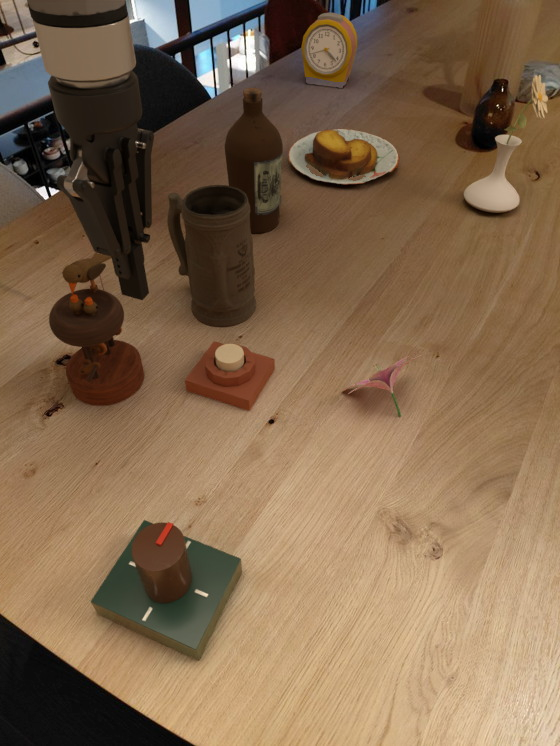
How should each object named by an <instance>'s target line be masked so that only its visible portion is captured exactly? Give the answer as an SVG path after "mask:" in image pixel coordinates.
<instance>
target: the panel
mask: <svg viewBox="0 0 560 746" xmlns="http://www.w3.org/2000/svg"><path fill="white" fill-rule="evenodd" d="M151 524H154V523H153V522H151V521H148V520H145V519H144V520H143V521H142V522H141V524H140V525H139V526H138V528H137V530H136V531H135V532H134V535H133V536H132V537H131V539H130V540H129V542H128V543H127V545H126V546H125V547H124V549H123V551H122V553H121V554H120V556H119V557H118V558H117V560H116V562H115V563H114V565H113V566H112V568H111V569H110V570H109V572H108V574H107V576H106V577H105V579H103V581H102V583H101V585H100V586H99V588H98V589H97V591H96V592H95V594H94V596H93V597H92V599H91V600H90V604H91V605H92V607H93V609H94V611H95V613H96V614H97V615H99V616H101V617H103V618H106V619H108V620H110V621H112V622H114V623H116V624H118V625H121V626H123V627H125V628H127V629H129V630H131V631H134V632H136V633H137V634H140V635H142V636H145V637H146V638H148V639H151V640H153V641H155V642H158V643H159V644H162V645H164V646H165V647H168V648H170V649H172V650H174V651H176V652H179V653H181V654H183V655H185V656H187V657H190V658H192V659H194V660H196V661H198V662H199V661H200V659H201V657H202V656H203V653H204V652H205V649H206V647H207V646H208V644H209V642H210V639H211V638H212V636H213V633H214V632H215V629H216V627H217V626H218V625H217V624H218V623H219V621H220V618H221V616H222V614H223V612H224V610H225V608H226V606H227V604H228V602H229V600H230V599H231V598H230V597H231V596H232V593H233V592H234V590H235V587H236V585H237V584H238V581H239V579H240V577H241V575H242V573H243V565H242V558H240V557H237V556H235V555H233V554H230V553H229V552H225V551H222V550H220V549H217V548H216V547H214V546H211V545H209V544H205V543H204V542H200V541H198V540H196V539H193V538H190V537H188V536H186V535H183V536H184V539H185V544H186V548H187V553H188V557H189V562H190V566H191V571H192V582H191V585H190V587H189V589H188V591H187V592H186V593H185V594H184V595H183V596H182V597H181V598H179V599H178V600H176V601H173V602H170V603H159V602H156V601H154V600H152V599H151V598H149V597H148V595H147V594H146V592H145V590H144V587H143V585H142V582H141V579H140V576H139V574H138V571H137V568H136V565H135V563H134V560H133V557H132V553H131V548H132V543H133V541H134V539H135V537H136V536H137V534H138V533H139V532H140V531H141V530H142V529H144V528H145V527H147V526H149V525H151Z"/></svg>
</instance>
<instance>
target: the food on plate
mask: <svg viewBox="0 0 560 746" xmlns="http://www.w3.org/2000/svg"><path fill="white" fill-rule="evenodd" d="M287 157H288V162H289V163H290V165H292V167H293V168H295V170H297V171H298V172H300V173H301V174H302V175H305V176H307V177H309V178H310V179H311V180H315V181H319V182H320V181H321V182H324V183H331V184H337V185H340V184H341V185H345V186H346V185H358V184H365V183H366V182H369V181H371V180H375V179H377V178H379V177H382V176H384V175H385V174H387V173H392V172H393V171H394V170H395V169H396V168H399V167H400V166H399V163H400V155H399V151H397V148H396V147H395V145H393V144H392V143H391V142H389V141H388V140H386V139H385V138H382V137H380V136H378V135H375V134H372V133H368V132H366V131H359V130H355V129H346V128H338V129H325V130H320V131H319V130H318V131H316V132H312V133H309V134H308V135H306V136H304V137H300V138H299V139H298V140H297V141H295V142H294V143H293V144H292V145H291V147H290V148H289V150H288V152H287ZM307 164H309V165H311V166H312V167H314V168H315V169H317V170H318V171H319V172H321V173H322V174H323V177H320V176H316V175H315V174H312V173H311V172H310V170H309V168H307V167H306V165H307ZM359 175H365V176H366V177H363V178H362V179H360V180H356V181H353V180H349V178H350V177H352V176H353V177H356V176H359Z"/></svg>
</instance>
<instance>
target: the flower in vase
mask: <svg viewBox="0 0 560 746" xmlns="http://www.w3.org/2000/svg"><path fill="white" fill-rule="evenodd" d="M530 91H531V99H530V100H529V101H528V102H527V103H526V104H525V106H523V108H522V110H520V112H519V114H518V116H517V118H516V120H515V122H514V124H513V125H512V124H510V125H509V126H508V127H507V128H503V130H504V131H507V132H510V133H509V134H498V135H497V136H495V137H494V141H495V142H496V146H497V154H496V158H495V159H496V160H495V164H494V167H493V170H492V172H491V173H490V174H489V175H487V176H485V177H483V178H480V179H478V180H476V181H474V182H472V183H471V184H469V185H468V186H467V187H466V188H465V189H464V191H463V197H464V199H465V201H466V203H467V204H469V205H470V206H471V207H473V208H475V209H477V210H480V211H483V212H487V213H496V214H497V213H498V214H499V213H507V212H510V211H513V210H514V209H515V208H517V207H518V206H519V205H520V201H521V200H520V195H519V193H518V192H517V190H516V188H515V187H514V186H513V185H512V184H511V182H509V180H508V179H507V178H506V169H507V166H508V163H509V160H510V158H511V156H512V154H513V152H514V151H515V150H516V149H517V148H518V147H519V146H520V145H521V144H522V142H523V141H522V139H521V138H519V137H518V136H515V135H513V132H515V131H518V130H519V129H525V127H526V126H527V116H526V115H525V114H523V113H524V111H525V110H526V109H527V108H528V107H529V106H530V104H531V103H532V108H533V111H534V113H535V117H536V118H538V119H539V120H545V114H548V104H547V102H548V101H549V96H548V95H547V94H546V93H547V92H546V82H542V76H541V74H539V75H537V74H535V75H534V76H533V78H532V83H531V90H530ZM516 125H518V127H519V128H517V127H516Z"/></svg>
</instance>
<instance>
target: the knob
mask: <svg viewBox="0 0 560 746" xmlns="http://www.w3.org/2000/svg"><path fill="white" fill-rule="evenodd" d="M184 536H185V535H184V534H183V532H182V531H181V529H179V527H177V526H176V525H174V523H173V522H169V521H167V522H155V523H153V524H151V525H149V526H147V527H145V528H144V529H142V530H141V531H140V532H139V533H138V534H137V536H136V537H135V539H134V541H133V543H132V548H131V553H132V557H133V560H134V563H135V565H136V568H137V571H138V574H139V576H140V579H141V582H142V585H143V587H144V590H145V592H146V594H147V595H148V597H149V598H151V599H152V600H154V601H156V602H159V603H170V602H173V601H176V600H178V599H179V598H181V597H182V596H183V595H184V594H185V593H186V592H187V591H188V589H189V587H190V585H191V582H192V571H191V566H190V562H189V557H188V553H187V548H186V544H185V539H184Z"/></svg>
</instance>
